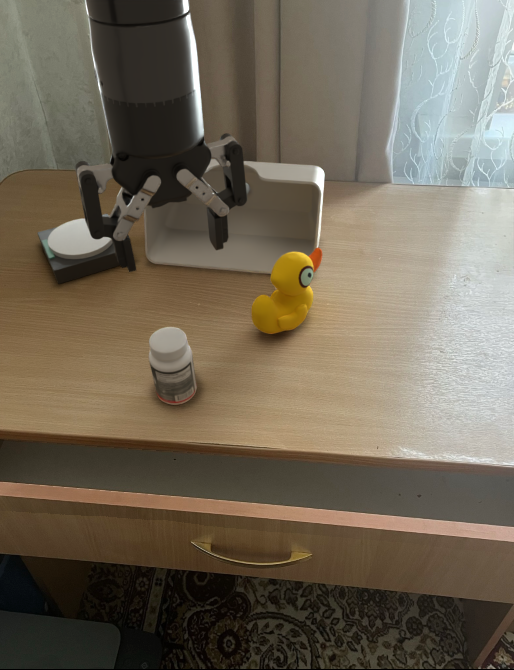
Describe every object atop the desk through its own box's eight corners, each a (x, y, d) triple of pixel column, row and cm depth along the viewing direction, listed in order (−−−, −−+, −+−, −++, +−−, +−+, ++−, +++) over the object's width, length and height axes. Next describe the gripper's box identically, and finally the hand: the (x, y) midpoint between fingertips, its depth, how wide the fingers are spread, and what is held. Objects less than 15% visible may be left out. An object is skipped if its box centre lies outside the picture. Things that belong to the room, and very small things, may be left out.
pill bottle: (162, 373, 66) (151, 321, 60) (201, 376, 66) (194, 325, 60) (151, 404, 63) (139, 352, 57) (192, 408, 62) (183, 356, 56)
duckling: (302, 292, 77) (305, 230, 70) (331, 310, 74) (337, 248, 67) (241, 331, 71) (238, 269, 64) (270, 353, 68) (270, 290, 61)
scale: (58, 284, 79) (52, 266, 77) (41, 245, 86) (35, 227, 84) (132, 261, 82) (128, 243, 80) (110, 226, 89) (106, 208, 87)
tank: (323, 217, 90) (328, 144, 81) (314, 277, 79) (319, 200, 70) (175, 206, 93) (165, 134, 85) (145, 262, 82) (131, 186, 73)
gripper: (60, 114, 37) (109, 299, 48) (256, 80, 41) (258, 259, 52) (45, 77, 42) (92, 253, 53) (220, 51, 46) (230, 219, 57)
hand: (174, 255), depth 53 cm, fingers open, 8 cm apart
